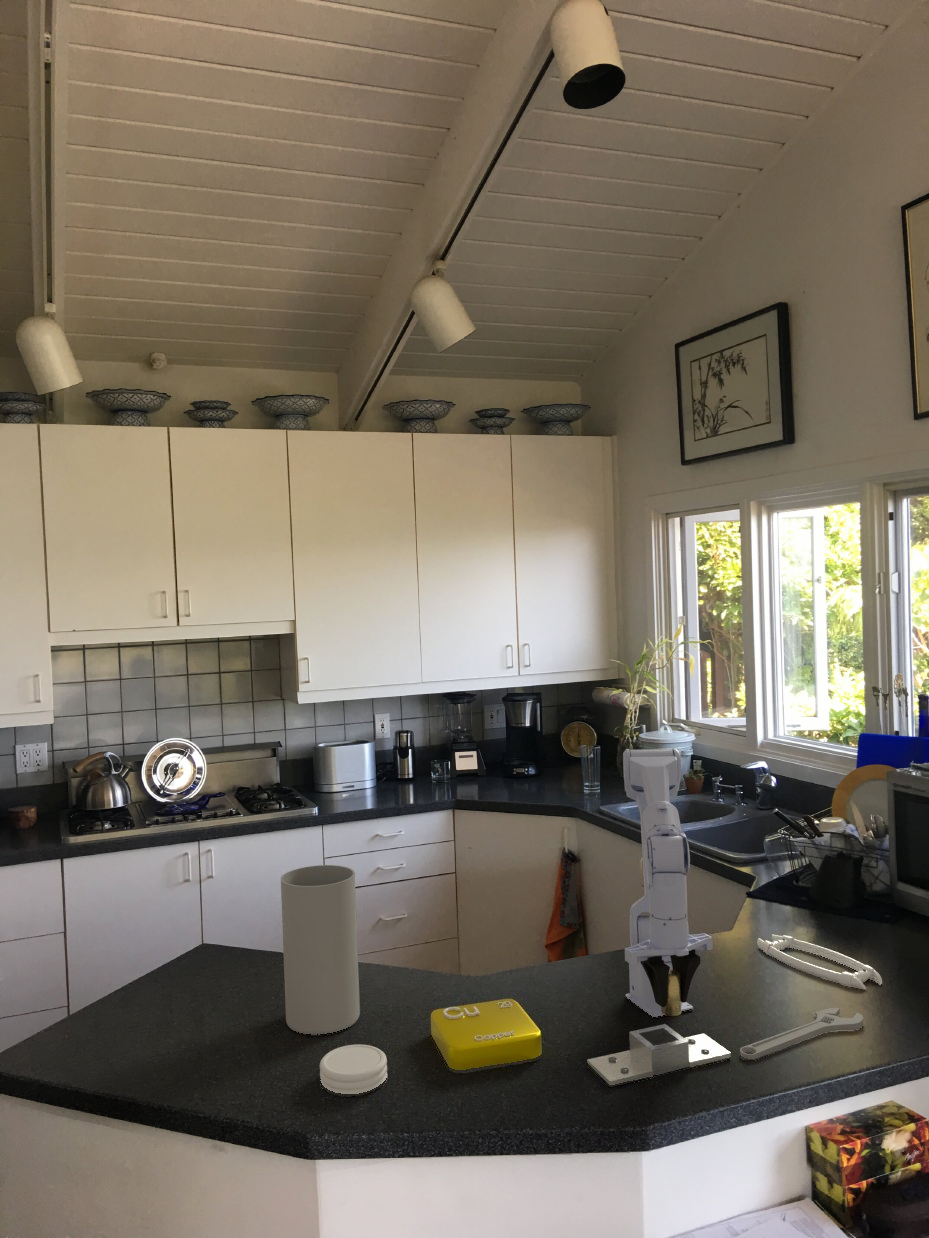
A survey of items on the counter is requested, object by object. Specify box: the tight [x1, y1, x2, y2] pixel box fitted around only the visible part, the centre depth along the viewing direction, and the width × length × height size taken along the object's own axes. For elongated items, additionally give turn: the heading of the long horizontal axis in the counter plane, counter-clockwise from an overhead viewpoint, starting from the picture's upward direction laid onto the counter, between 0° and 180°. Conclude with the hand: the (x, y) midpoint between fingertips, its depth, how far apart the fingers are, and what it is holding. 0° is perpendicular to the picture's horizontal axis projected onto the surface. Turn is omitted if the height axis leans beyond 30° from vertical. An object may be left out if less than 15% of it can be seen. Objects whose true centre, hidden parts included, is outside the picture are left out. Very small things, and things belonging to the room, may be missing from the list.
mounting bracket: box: [586, 1023, 732, 1085], centre depth 143 cm, size 7×21×4 cm, turn 110°
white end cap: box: [319, 1044, 388, 1094], centre depth 141 cm, size 10×10×4 cm
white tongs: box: [756, 934, 883, 990], centre depth 179 cm, size 3×10×25 cm
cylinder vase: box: [280, 864, 361, 1036], centre depth 162 cm, size 12×12×25 cm
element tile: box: [430, 998, 543, 1070], centre depth 151 cm, size 15×15×5 cm
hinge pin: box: [661, 969, 682, 1017], centre depth 145 cm, size 3×3×6 cm
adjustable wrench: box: [739, 1007, 864, 1059], centre depth 151 cm, size 25×6×2 cm, turn 115°
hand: (670, 1002), depth 145 cm, fingers closed on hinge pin, 3 cm apart
